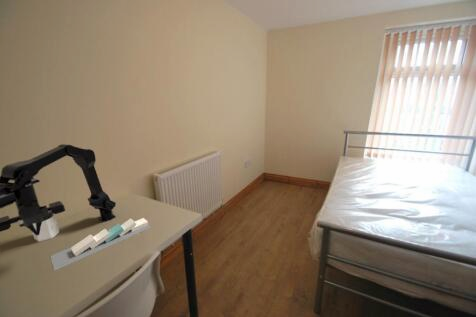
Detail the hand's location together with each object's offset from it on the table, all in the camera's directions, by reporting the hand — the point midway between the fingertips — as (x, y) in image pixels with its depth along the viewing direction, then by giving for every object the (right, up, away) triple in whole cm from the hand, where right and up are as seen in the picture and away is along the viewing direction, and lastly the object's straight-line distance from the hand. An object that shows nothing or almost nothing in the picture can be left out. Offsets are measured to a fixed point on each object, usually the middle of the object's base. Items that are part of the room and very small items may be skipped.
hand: (37, 234), depth 80 cm
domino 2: (+13, -8, +10) cm, 18 cm away
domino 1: (+9, -9, +6) cm, 14 cm away
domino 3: (+16, -7, +14) cm, 23 cm away
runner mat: (+17, -8, +15) cm, 24 cm away
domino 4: (+20, -6, +18) cm, 28 cm away
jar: (-13, -7, +18) cm, 23 cm away
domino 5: (+24, -5, +22) cm, 33 cm away
